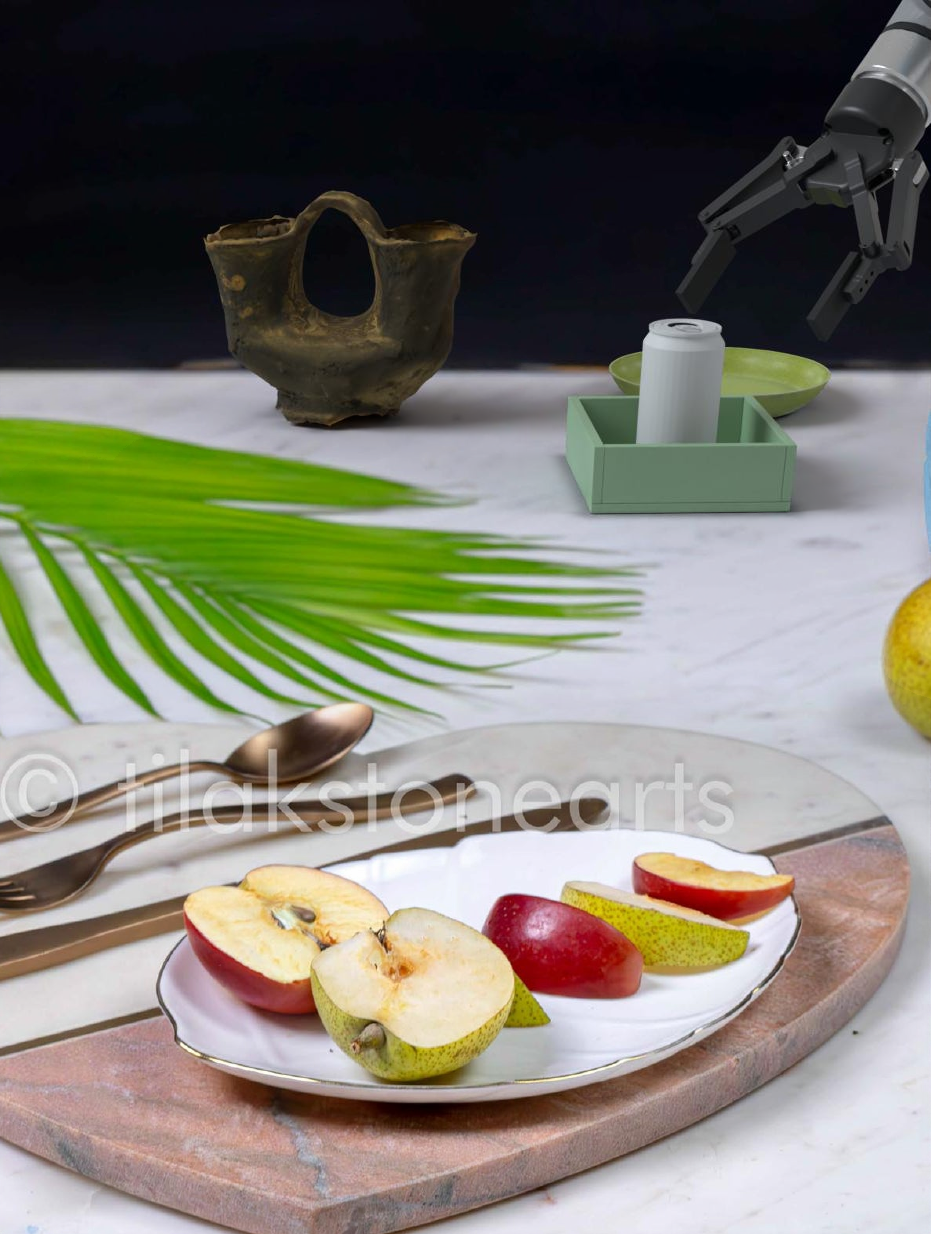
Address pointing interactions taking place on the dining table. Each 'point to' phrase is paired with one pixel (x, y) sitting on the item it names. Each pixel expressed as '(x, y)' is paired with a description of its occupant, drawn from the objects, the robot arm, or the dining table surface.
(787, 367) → the saucer
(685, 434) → the beverage can
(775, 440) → the bin
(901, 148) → the robot arm
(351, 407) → the pottery vessel
